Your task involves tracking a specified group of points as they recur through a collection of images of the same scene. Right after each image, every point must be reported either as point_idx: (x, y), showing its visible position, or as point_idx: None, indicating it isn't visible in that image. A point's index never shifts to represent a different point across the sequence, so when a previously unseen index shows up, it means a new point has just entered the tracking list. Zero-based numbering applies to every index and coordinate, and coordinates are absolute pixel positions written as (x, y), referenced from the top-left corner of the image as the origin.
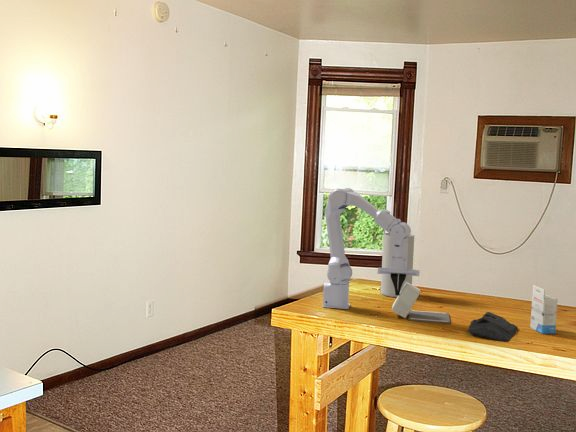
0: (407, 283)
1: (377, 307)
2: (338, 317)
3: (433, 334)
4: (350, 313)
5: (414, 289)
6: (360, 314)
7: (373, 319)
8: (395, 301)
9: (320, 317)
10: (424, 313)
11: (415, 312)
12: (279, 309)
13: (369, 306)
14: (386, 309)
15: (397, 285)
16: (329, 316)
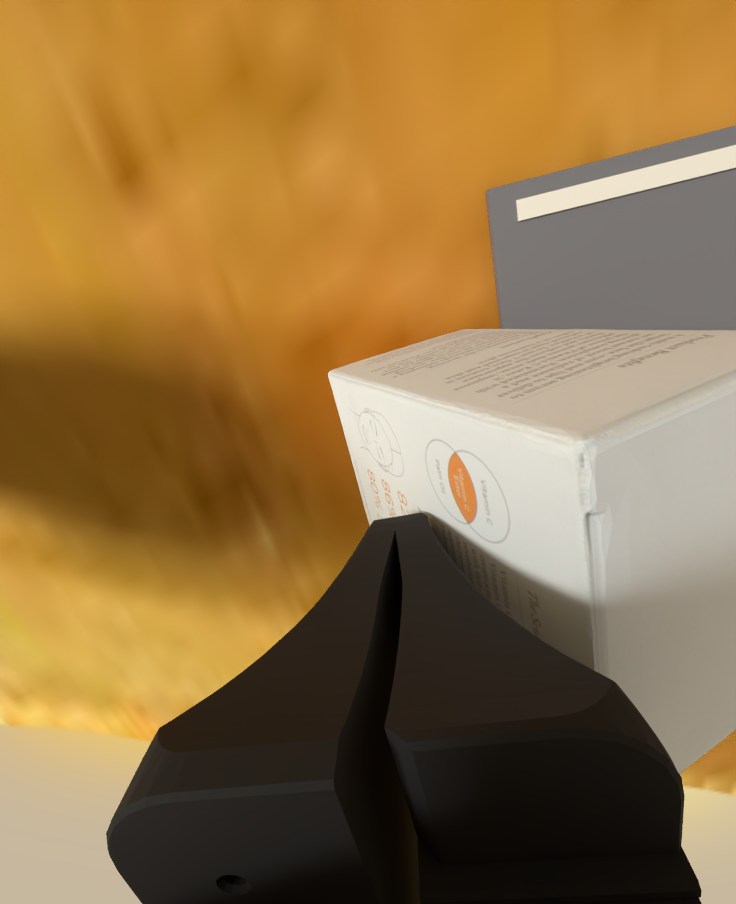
0: (616, 589)
1: (126, 194)
2: (82, 670)
3: (704, 764)
4: (75, 549)
5: (730, 706)
6: (146, 543)
7: (285, 624)
8: (376, 469)
9: (6, 709)
10: (669, 265)
11: (568, 276)
12: None
13: (38, 196)
14: (241, 237)
15: (383, 589)
16: (27, 672)
